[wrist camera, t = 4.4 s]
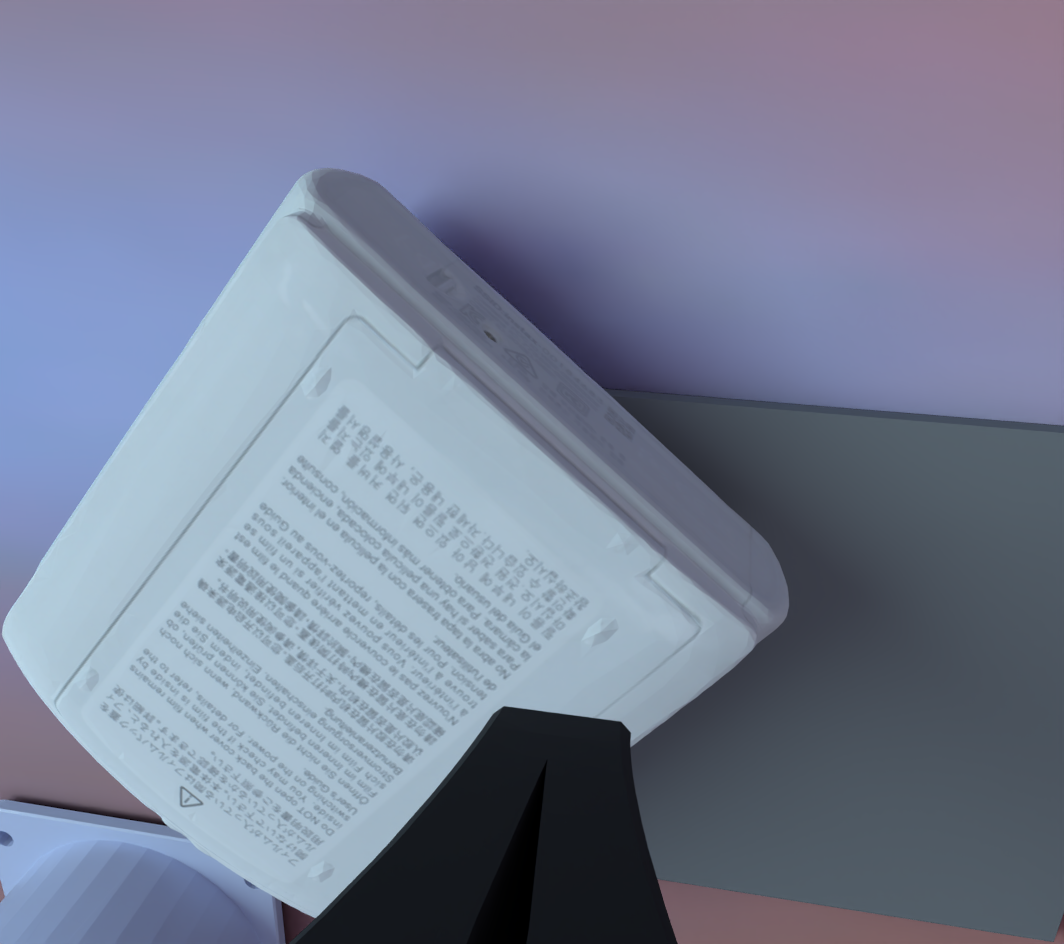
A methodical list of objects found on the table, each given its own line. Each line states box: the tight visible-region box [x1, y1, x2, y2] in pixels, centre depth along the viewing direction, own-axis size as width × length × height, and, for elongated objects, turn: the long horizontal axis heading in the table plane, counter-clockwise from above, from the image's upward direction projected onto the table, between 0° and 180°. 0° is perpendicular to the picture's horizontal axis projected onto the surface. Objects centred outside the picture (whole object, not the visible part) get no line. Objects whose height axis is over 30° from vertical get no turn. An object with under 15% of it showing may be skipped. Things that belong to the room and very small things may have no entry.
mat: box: [604, 389, 1064, 942], centre depth 19 cm, size 12×17×1 cm
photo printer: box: [2, 168, 789, 918], centre depth 17 cm, size 10×4×12 cm
